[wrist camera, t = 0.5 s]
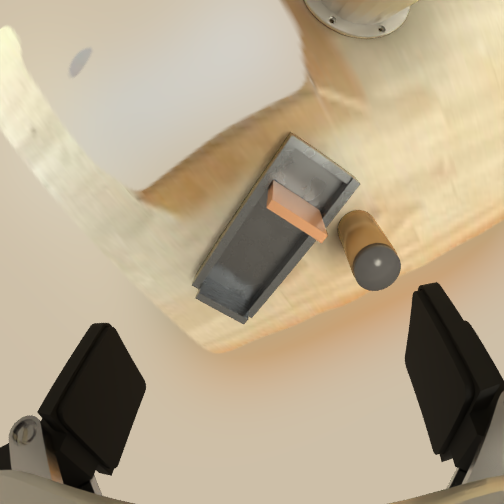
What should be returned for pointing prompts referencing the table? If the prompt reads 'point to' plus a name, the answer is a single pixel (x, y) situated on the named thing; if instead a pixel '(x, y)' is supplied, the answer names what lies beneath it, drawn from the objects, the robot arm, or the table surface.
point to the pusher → (296, 211)
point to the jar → (368, 251)
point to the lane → (270, 231)
